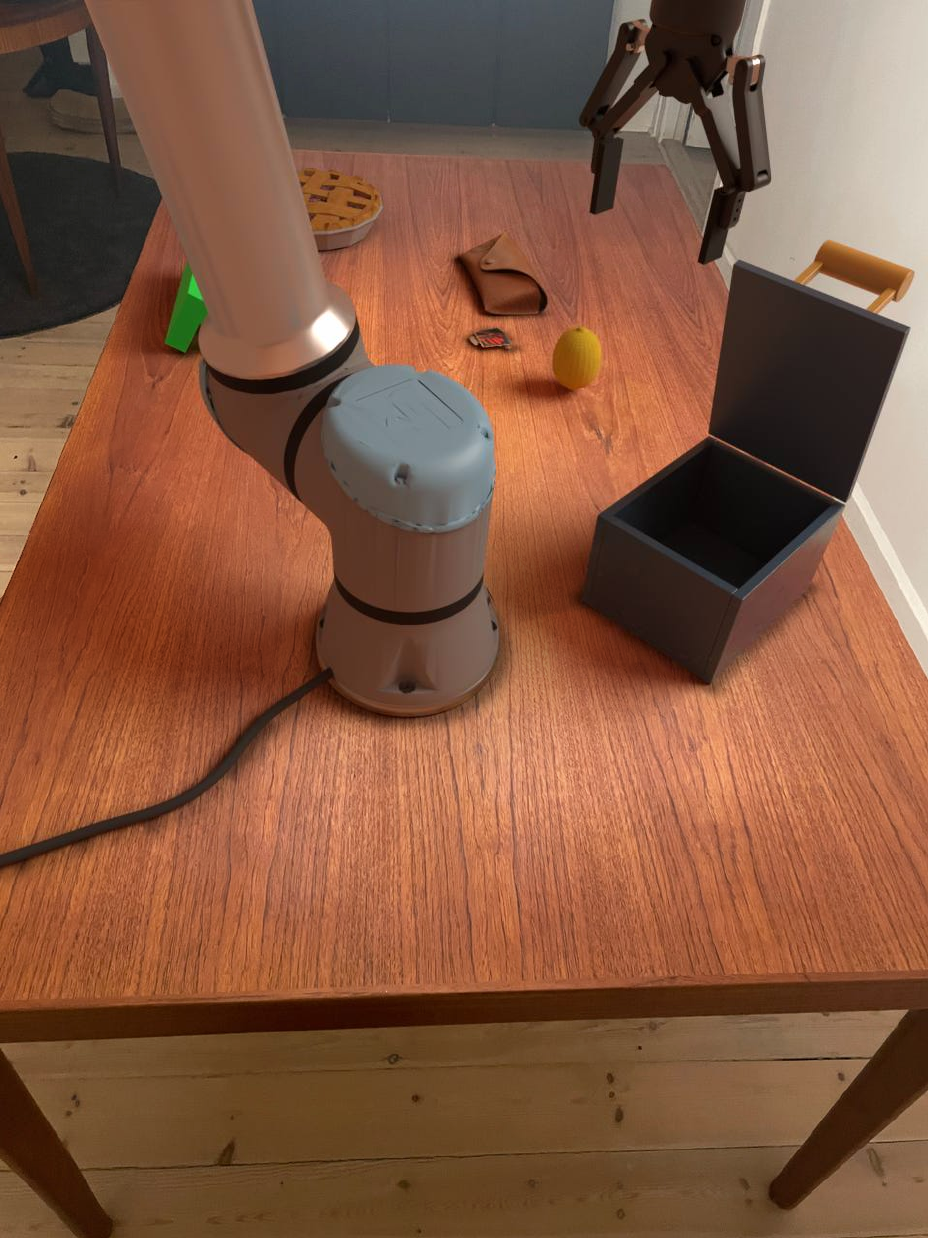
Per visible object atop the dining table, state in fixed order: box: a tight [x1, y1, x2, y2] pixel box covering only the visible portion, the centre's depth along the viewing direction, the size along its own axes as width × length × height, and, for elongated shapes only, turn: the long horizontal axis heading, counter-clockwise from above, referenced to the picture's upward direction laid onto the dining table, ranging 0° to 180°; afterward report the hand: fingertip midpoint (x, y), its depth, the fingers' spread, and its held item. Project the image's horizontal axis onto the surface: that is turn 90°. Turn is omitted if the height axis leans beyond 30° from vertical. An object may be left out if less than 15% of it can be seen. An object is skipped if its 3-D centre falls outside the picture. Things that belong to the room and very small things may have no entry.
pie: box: [297, 167, 384, 251], centre depth 132 cm, size 22×22×5 cm
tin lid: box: [707, 239, 915, 504], centre depth 74 cm, size 18×14×9 cm
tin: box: [580, 435, 846, 685], centre depth 79 cm, size 17×14×10 cm
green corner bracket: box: [164, 261, 208, 354], centre depth 113 cm, size 20×10×7 cm, turn 5°
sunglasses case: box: [457, 229, 549, 317], centre depth 123 cm, size 18×7×7 cm, turn 14°
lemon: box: [551, 325, 603, 392], centre depth 103 cm, size 6×6×8 cm
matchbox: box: [468, 327, 514, 350], centre depth 113 cm, size 5×5×1 cm
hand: (653, 234), depth 88 cm, fingers open, 13 cm apart
